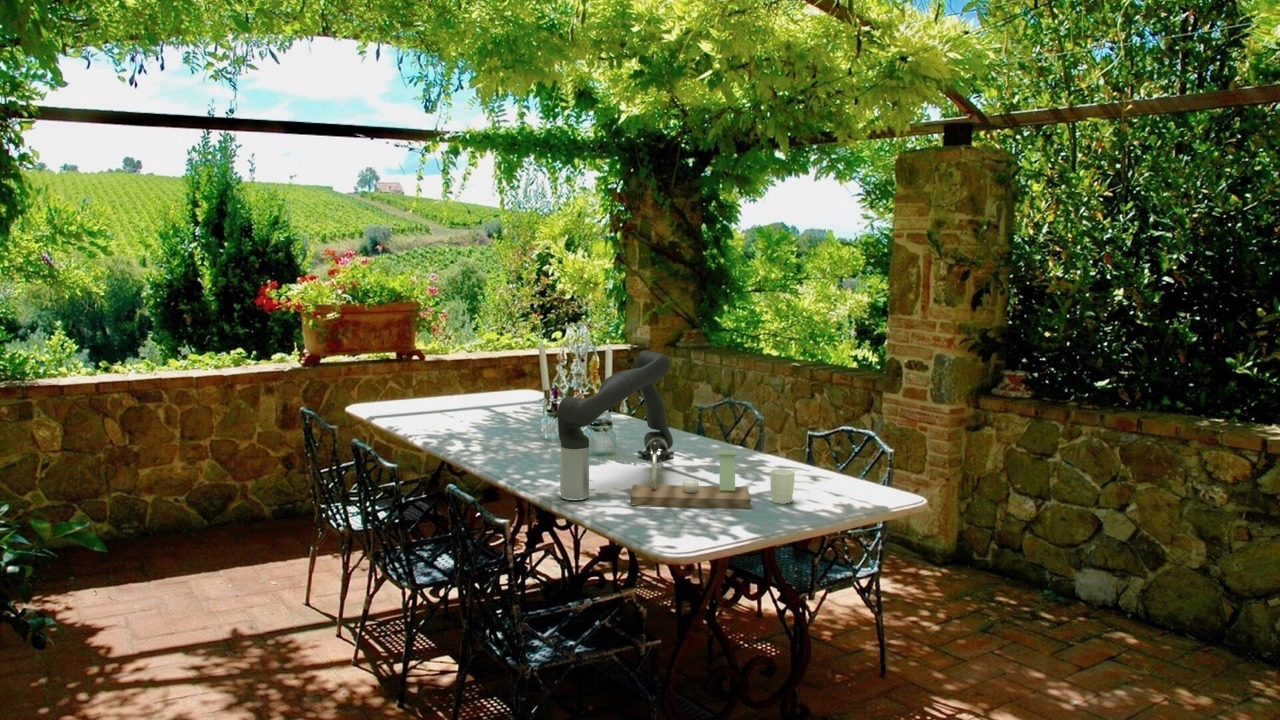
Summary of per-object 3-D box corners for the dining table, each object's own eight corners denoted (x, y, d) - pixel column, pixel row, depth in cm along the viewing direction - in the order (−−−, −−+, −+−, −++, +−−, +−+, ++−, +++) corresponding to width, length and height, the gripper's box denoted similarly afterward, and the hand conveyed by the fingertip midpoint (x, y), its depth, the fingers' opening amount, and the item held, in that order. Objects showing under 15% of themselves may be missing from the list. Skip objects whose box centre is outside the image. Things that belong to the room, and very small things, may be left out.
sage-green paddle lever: (718, 489, 313) (718, 449, 317) (717, 491, 315) (718, 450, 319) (736, 490, 312) (736, 449, 317) (736, 491, 314) (736, 451, 318)
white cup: (796, 500, 317) (797, 470, 315) (790, 505, 309) (790, 475, 308) (773, 497, 320) (774, 467, 319) (766, 502, 313) (767, 472, 312)
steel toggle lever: (648, 487, 313) (649, 440, 318) (648, 489, 316) (650, 442, 321) (658, 488, 313) (659, 440, 318) (658, 490, 316) (659, 443, 321)
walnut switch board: (630, 505, 307) (630, 496, 307) (633, 493, 323) (633, 484, 323) (750, 508, 305) (750, 499, 305) (747, 495, 321) (747, 487, 321)
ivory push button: (682, 492, 311) (682, 482, 311) (682, 488, 316) (682, 479, 316) (698, 492, 311) (698, 483, 311) (698, 489, 316) (698, 479, 316)
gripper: (638, 439, 340) (635, 449, 323) (675, 439, 339) (674, 449, 322) (637, 459, 341) (635, 471, 324) (675, 460, 340) (674, 471, 323)
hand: (654, 460), depth 323 cm, fingers closed
